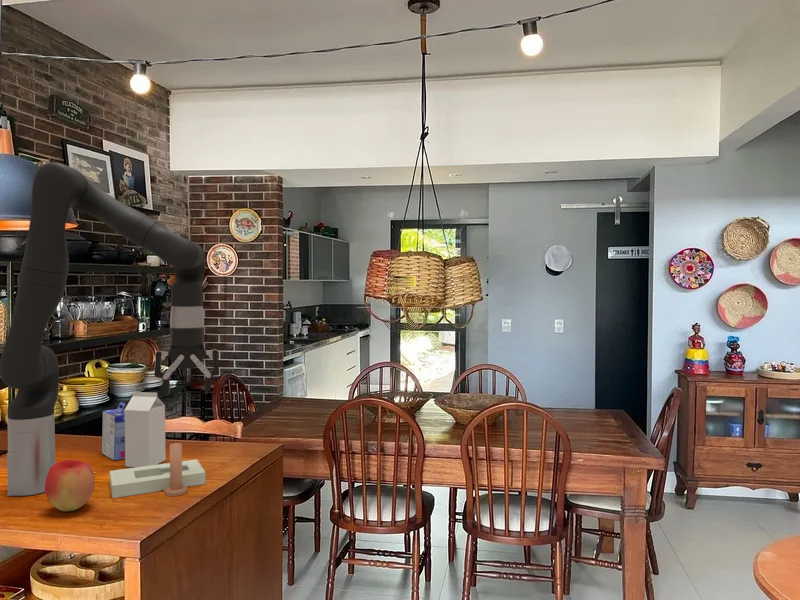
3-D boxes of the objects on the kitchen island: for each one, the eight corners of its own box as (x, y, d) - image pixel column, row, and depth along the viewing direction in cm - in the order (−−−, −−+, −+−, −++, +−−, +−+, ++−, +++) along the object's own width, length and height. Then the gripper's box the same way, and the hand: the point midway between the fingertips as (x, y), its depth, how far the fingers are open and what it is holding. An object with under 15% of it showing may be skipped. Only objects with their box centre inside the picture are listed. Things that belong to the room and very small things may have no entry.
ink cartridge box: (135, 457, 164) (134, 404, 164) (114, 461, 160) (113, 407, 160) (122, 450, 171) (121, 399, 171) (101, 454, 168) (100, 402, 167)
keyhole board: (112, 498, 133) (112, 485, 133) (110, 482, 143) (109, 470, 143) (205, 484, 142) (205, 472, 142) (196, 470, 153) (196, 459, 153)
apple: (33, 516, 122) (32, 468, 122) (65, 500, 132) (65, 455, 131) (76, 519, 121) (75, 470, 121) (106, 502, 130) (105, 456, 130)
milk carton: (149, 468, 154) (148, 395, 153) (125, 467, 155) (124, 394, 155) (165, 460, 161) (164, 390, 160) (142, 459, 162) (141, 389, 162)
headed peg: (166, 497, 133) (166, 448, 133) (164, 491, 137) (163, 443, 137) (188, 494, 135) (187, 445, 135) (185, 488, 139) (184, 440, 139)
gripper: (153, 327, 135) (153, 398, 135) (219, 326, 139) (219, 395, 140) (155, 324, 142) (156, 392, 143) (218, 324, 147) (218, 390, 147)
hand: (187, 394), depth 141 cm, fingers open, 8 cm apart
